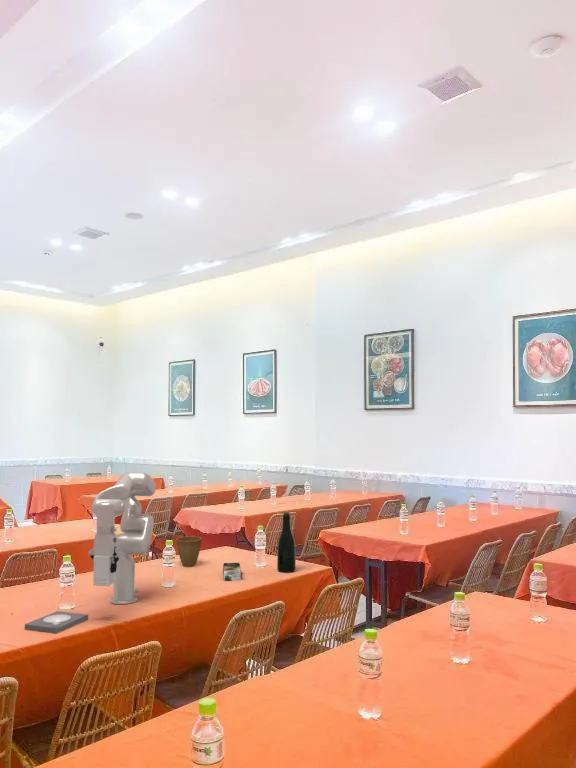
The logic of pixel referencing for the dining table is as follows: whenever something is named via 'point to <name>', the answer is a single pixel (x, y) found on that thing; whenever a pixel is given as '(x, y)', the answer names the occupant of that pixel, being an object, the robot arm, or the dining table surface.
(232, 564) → the juice carton
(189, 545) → the plant pot
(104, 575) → the supplement box
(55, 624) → the mount plate
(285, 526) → the beer bottle
